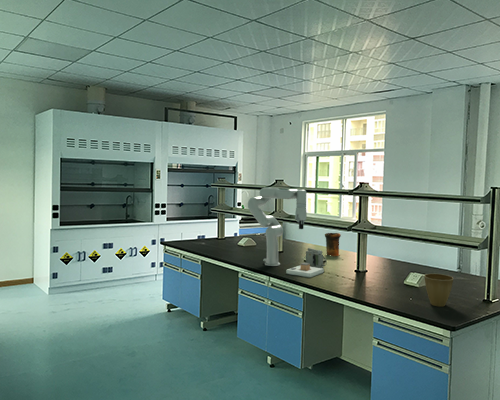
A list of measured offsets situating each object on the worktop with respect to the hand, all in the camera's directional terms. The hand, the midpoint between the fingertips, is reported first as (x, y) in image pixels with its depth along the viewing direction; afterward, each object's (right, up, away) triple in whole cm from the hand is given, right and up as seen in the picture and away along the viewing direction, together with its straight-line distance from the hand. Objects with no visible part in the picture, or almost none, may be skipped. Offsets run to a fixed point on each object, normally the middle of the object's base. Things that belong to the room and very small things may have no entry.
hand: (301, 229), depth 329 cm
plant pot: (+65, -36, -92) cm, 119 cm away
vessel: (+36, -28, +58) cm, 73 cm away
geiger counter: (+13, -31, +9) cm, 35 cm away
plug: (+1, -31, -14) cm, 35 cm away
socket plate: (+1, -32, -15) cm, 35 cm away
